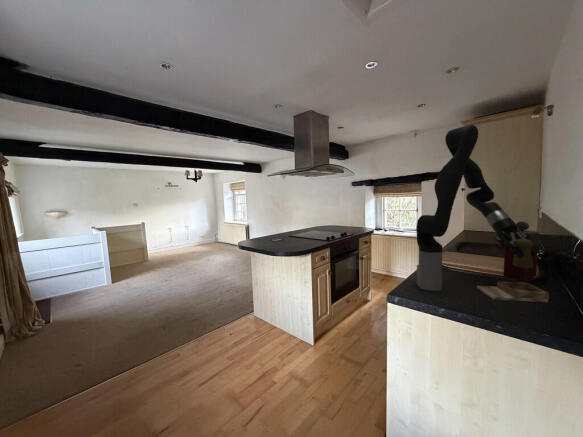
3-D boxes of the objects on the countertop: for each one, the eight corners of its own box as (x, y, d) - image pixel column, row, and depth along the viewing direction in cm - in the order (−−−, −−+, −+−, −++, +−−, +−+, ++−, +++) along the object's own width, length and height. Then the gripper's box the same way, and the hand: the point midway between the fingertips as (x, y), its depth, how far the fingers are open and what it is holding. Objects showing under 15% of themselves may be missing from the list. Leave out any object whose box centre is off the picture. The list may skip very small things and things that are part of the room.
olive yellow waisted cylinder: (537, 268, 92) (538, 240, 91) (519, 267, 94) (520, 240, 93) (525, 263, 98) (526, 237, 97) (508, 263, 100) (509, 238, 98)
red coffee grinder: (538, 278, 115) (542, 221, 113) (525, 281, 111) (529, 223, 109) (516, 272, 123) (519, 220, 121) (503, 276, 119) (505, 221, 117)
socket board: (493, 299, 94) (494, 290, 94) (476, 288, 105) (477, 280, 105) (549, 302, 90) (550, 293, 90) (525, 290, 102) (526, 282, 101)
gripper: (491, 218, 101) (518, 252, 90) (522, 216, 102) (553, 250, 91) (480, 228, 107) (504, 261, 96) (510, 227, 108) (537, 260, 97)
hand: (527, 256), depth 94 cm, fingers closed on olive yellow waisted cylinder, 4 cm apart
